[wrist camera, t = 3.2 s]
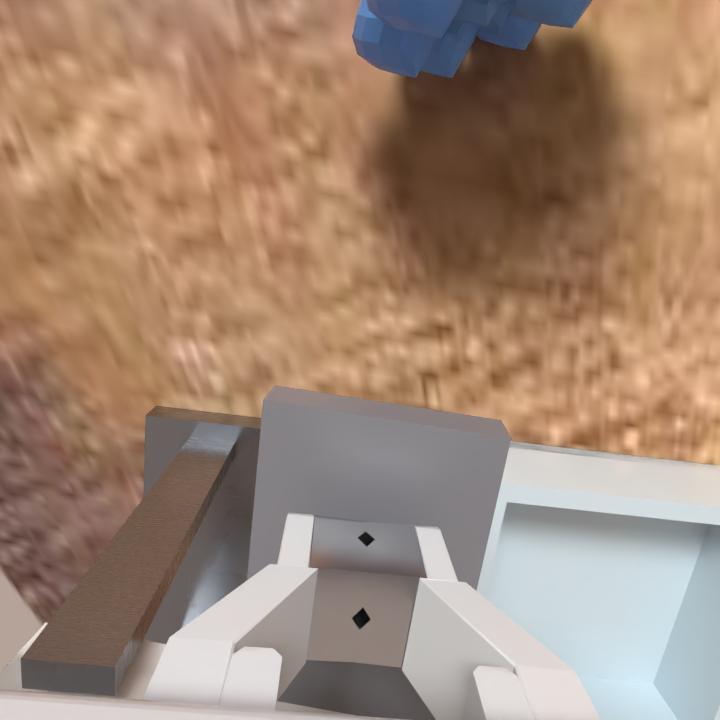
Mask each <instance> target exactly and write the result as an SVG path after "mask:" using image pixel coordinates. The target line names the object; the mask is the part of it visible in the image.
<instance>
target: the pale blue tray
mask: <svg viewBox="0 0 720 720" xmlns="http://www.w3.org/2000/svg"><path fill="white" fill-rule="evenodd" d="M477 592H478V593H479V594H481V595H482V596H483V597H484V598H486V599H487V600H488V601H489V602H491V603H492V604H493V605H494V606H495V607H497V608H498V609H499V610H500V611H502V612H503V613H504V614H505V615H507V616H508V617H509V618H510V619H511V620H513V621H514V622H515V623H516V624H518V625H519V626H520V627H521V628H522V629H524V630H525V631H526V632H527V633H529V634H530V635H531V636H532V637H534V638H535V639H536V640H537V641H538V642H540V643H541V644H542V645H543V646H545V647H546V648H547V649H548V650H550V651H551V652H552V653H553V654H554V655H556V656H557V657H558V658H559V659H561V660H562V661H563V662H564V663H565V664H567V665H568V666H569V667H570V668H572V669H573V670H574V671H575V672H576V673H577V675H578V677H579V679H580V681H581V683H582V685H583V686H584V688H585V690H586V692H587V694H588V696H589V698H590V700H591V702H592V703H593V705H594V707H595V709H596V711H597V713H598V715H599V717H600V718H601V720H720V466H719V465H711V464H702V463H694V462H685V461H676V460H668V459H659V458H651V457H642V456H633V455H625V454H616V453H608V452H599V451H590V450H582V449H573V448H565V447H556V446H547V445H539V444H530V443H522V442H513V441H511V442H510V446H509V451H508V455H507V459H506V464H505V468H504V473H503V477H502V481H501V486H500V490H499V494H498V499H497V503H496V508H495V512H494V516H493V521H492V525H491V529H490V534H489V538H488V543H487V547H486V551H485V556H484V560H483V564H482V569H481V573H480V578H479V582H478V586H477Z"/></svg>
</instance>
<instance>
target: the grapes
mask: <svg viewBox="0 0 720 720" xmlns="http://www.w3.org/2000/svg"><path fill="white" fill-rule="evenodd" d="M591 1H592V0H361V2H360V4H359V8H358V12H357V17H356V21H355V26H354V31H353V35H352V37H353V41H354V44H355V47H356V51H357V54H358V55H359V56H361V57H362V58H363V59H365V60H366V61H367V62H369V63H370V64H371V65H373V66H375V67H377V68H378V69H380V70H384V71H388V72H391V73H395V74H398V75H404V76H409V77H414V78H416V77H417V75H418V74H419V72H420V71H423V72H426V73H430V74H433V75H437V76H443V77H449V78H452V77H453V76H454V74H455V72H456V71H457V69H458V68H459V66H460V64H461V63H462V61H463V60H464V58H465V56H466V54H467V53H468V51H469V49H470V48H471V46H472V44H473V41H474V39H475V37H476V36H477V37H478V38H479V39H481V40H483V41H486V42H489V43H492V44H496V45H499V46H503V47H506V48H512V49H520V50H525V49H526V47H527V46H528V44H529V43H530V41H531V40H532V39H533V37H534V36H535V34H536V33H537V31H538V30H539V28H540V26H541V24H546V25H550V26H559V27H568V28H573V27H574V25H575V24H576V22H577V21H578V20H579V18H580V17H581V16H582V14H583V13H584V11H585V10H586V9H587V7H588V6H589V4H590V3H591Z"/></svg>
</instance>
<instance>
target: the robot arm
mask: <svg viewBox="0 0 720 720" xmlns="http://www.w3.org/2000/svg"><path fill="white" fill-rule="evenodd" d="M306 660H318V661H338V662H355V663H364V664H373V665H382V666H391V667H400V668H402V671H403V672H404V674H405V675H406V677H407V678H408V680H409V681H410V683H411V684H412V686H413V687H414V689H415V690H416V691H417V693H418V694H419V696H420V697H421V699H422V700H423V702H424V703H425V705H426V706H427V707H428V709H429V710H430V712H431V713H432V715H433V716H434V718H435V719H436V720H601V718H600V717H599V715H598V713H597V711H596V709H595V707H594V705H593V703H592V702H591V700H590V698H589V696H588V694H587V692H586V690H585V688H584V686H583V685H582V683H581V681H580V679H579V677H578V675H577V673H576V672H575V671H574V670H573V669H572V668H570V667H569V666H568V665H567V664H565V663H564V662H563V661H562V660H561V659H559V658H558V657H557V656H556V655H554V654H553V653H552V652H551V651H550V650H548V649H547V648H546V647H545V646H543V645H542V644H541V643H540V642H538V641H537V640H536V639H535V638H534V637H532V636H531V635H530V634H529V633H527V632H526V631H525V630H524V629H522V628H521V627H520V626H519V625H518V624H516V623H515V622H514V621H513V620H511V619H510V618H509V617H508V616H507V615H505V614H504V613H503V612H502V611H500V610H499V609H498V608H497V607H495V606H494V605H493V604H492V603H491V602H489V601H488V600H487V599H486V598H484V597H483V596H482V595H481V594H479V593H478V592H477V591H476V590H475V589H473V588H472V587H471V586H470V585H468V584H467V583H466V582H458V579H457V576H456V574H455V571H454V568H453V565H452V562H451V559H450V556H449V553H448V550H447V547H446V544H445V541H444V538H443V536H442V533H441V530H440V529H439V528H438V527H430V526H414V525H399V524H386V523H372V522H364V521H359V520H351V519H343V518H334V517H326V516H318V515H315V516H313V515H312V514H301V513H288V515H287V518H286V523H285V528H284V533H283V538H282V543H281V548H280V553H279V558H278V563H277V564H269V565H267V566H266V567H265V568H263V569H262V570H261V571H259V572H258V573H256V574H255V575H254V576H252V577H251V578H250V579H248V580H247V581H246V582H244V583H243V584H241V585H240V586H239V587H237V588H236V589H235V590H233V591H232V592H231V593H229V594H228V595H226V596H225V597H224V598H222V599H221V600H220V601H218V602H217V603H216V604H214V605H213V606H211V607H210V608H209V609H207V610H206V611H205V612H203V613H202V614H201V615H199V616H198V617H196V618H195V619H194V620H192V621H191V622H190V623H188V624H187V625H186V626H184V627H183V628H181V629H180V630H179V631H177V632H176V633H175V634H173V635H172V636H171V637H169V639H168V642H167V644H166V646H165V649H164V651H163V653H162V656H161V658H160V660H159V662H158V665H157V667H156V669H155V672H154V674H153V676H152V678H151V681H150V683H149V685H148V688H147V690H146V692H145V694H144V697H143V699H142V700H137V699H124V698H110V697H97V696H83V695H70V694H57V693H43V692H30V691H16V690H3V689H0V720H407V719H393V718H380V717H366V716H353V715H340V714H326V713H313V712H299V711H286V710H276V704H277V700H278V699H279V698H280V696H281V695H282V694H283V692H284V691H285V690H286V688H287V687H288V686H289V684H290V683H291V682H292V680H293V679H294V678H295V676H296V675H297V674H298V672H299V671H300V670H301V668H302V667H303V666H304V664H305V663H306Z"/></svg>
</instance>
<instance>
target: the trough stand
mask: <svg viewBox="0 0 720 720" xmlns="http://www.w3.org/2000/svg"><path fill="white" fill-rule="evenodd" d="M261 419H262V418H255V417H246V416H238V415H229V414H221V413H212V412H203V411H195V410H186V409H177V408H169V407H160V406H156V407H154V408H153V409H152V410H151V411H150V412H149V413H148V414H147V415H146V426H145V463H144V498H143V500H142V501H141V502H140V504H139V505H138V506H137V508H136V509H135V510H134V511H133V513H132V514H131V515H130V517H129V518H128V519H127V521H126V522H125V523H124V525H123V526H122V527H121V528H120V530H119V531H118V532H117V534H116V535H115V536H114V538H113V539H112V540H111V542H110V543H109V544H108V545H107V547H106V548H105V549H104V551H103V552H102V553H101V555H100V556H99V557H98V558H97V560H96V561H95V562H94V564H93V565H92V566H91V568H90V569H89V570H88V572H87V573H86V574H85V575H84V577H83V578H82V579H81V581H80V582H79V583H78V585H77V586H76V587H75V588H74V590H73V591H72V592H71V594H70V595H69V596H68V598H67V599H66V600H65V602H64V603H63V604H62V605H61V607H60V608H59V609H58V611H57V612H56V613H55V615H54V616H53V617H52V619H51V620H50V621H49V622H48V624H47V625H46V626H45V628H44V629H43V630H42V632H41V633H40V634H39V635H38V637H37V638H36V639H35V641H34V642H33V643H32V645H31V646H30V647H29V649H28V650H27V651H26V652H25V654H24V655H23V656H22V658H21V678H22V688H24V689H37V690H49V691H62V692H74V693H86V694H99V695H111V696H115V694H116V692H117V690H118V688H119V686H120V684H121V682H122V680H123V678H124V676H125V675H126V673H127V671H128V669H129V667H130V665H131V663H132V661H133V659H134V657H135V655H136V653H137V651H138V649H139V647H140V645H141V643H142V641H143V640H145V641H151V642H157V643H162V644H167V642H168V639H169V637H171V636H172V635H173V634H175V633H176V632H177V631H179V630H180V629H181V628H183V627H184V626H186V625H187V624H188V623H190V622H191V621H192V620H194V619H195V618H196V617H198V616H199V615H201V614H202V613H203V612H205V611H206V610H207V609H209V608H210V607H211V606H213V605H214V604H216V603H217V602H218V601H220V600H221V599H222V598H224V597H225V596H226V595H228V594H229V593H231V592H232V591H233V590H235V589H236V588H237V587H239V586H240V585H241V584H243V583H244V582H246V581H247V574H248V563H249V552H250V541H251V530H252V519H253V508H254V497H255V485H256V474H257V463H258V452H259V441H260V430H261Z"/></svg>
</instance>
